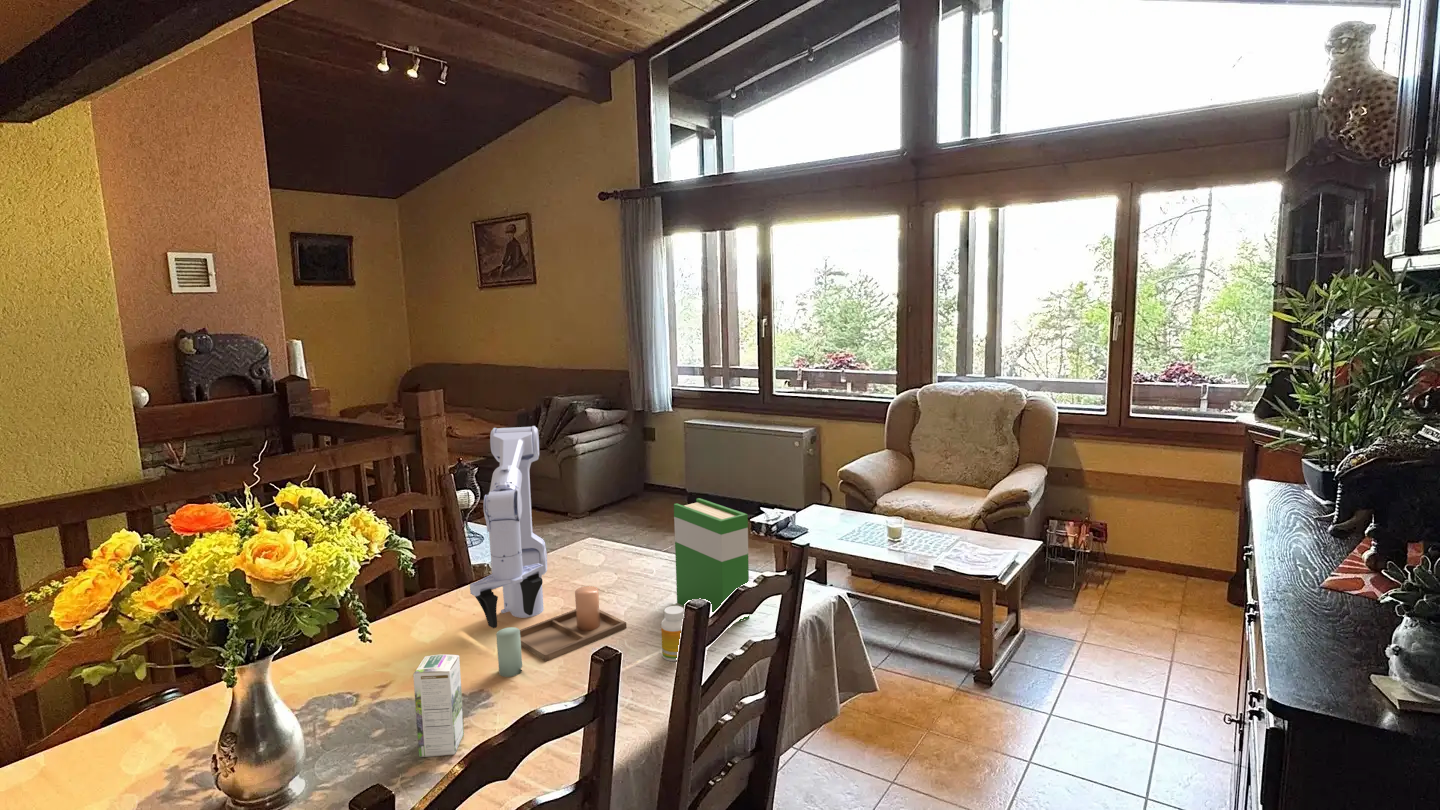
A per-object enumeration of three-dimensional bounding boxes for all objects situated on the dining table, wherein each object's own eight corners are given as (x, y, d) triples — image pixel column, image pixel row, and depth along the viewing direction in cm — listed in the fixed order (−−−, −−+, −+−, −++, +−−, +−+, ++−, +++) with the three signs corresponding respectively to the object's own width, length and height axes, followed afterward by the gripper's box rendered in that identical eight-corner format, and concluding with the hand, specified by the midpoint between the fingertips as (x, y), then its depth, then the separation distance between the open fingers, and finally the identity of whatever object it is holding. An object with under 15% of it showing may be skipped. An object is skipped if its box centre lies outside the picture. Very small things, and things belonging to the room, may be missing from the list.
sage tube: (494, 671, 144) (492, 632, 143) (515, 663, 147) (512, 625, 146) (506, 679, 141) (503, 639, 140) (526, 670, 144) (524, 632, 143)
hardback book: (677, 602, 174) (673, 504, 171) (702, 594, 179) (699, 498, 175) (723, 627, 160) (720, 521, 157) (749, 618, 165) (747, 514, 161)
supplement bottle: (685, 663, 146) (683, 616, 144) (659, 661, 147) (657, 614, 145) (691, 650, 151) (690, 604, 149) (666, 648, 152) (664, 603, 150)
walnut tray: (510, 642, 156) (509, 633, 156) (589, 612, 170) (588, 604, 170) (546, 664, 146) (545, 655, 146) (626, 631, 160) (626, 622, 160)
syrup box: (429, 737, 123) (422, 655, 121) (465, 734, 123) (459, 652, 121) (418, 758, 117) (410, 672, 115) (456, 755, 118) (449, 670, 116)
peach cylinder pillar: (572, 625, 161) (570, 591, 160) (591, 618, 165) (589, 584, 164) (585, 632, 158) (583, 597, 157) (604, 625, 161) (602, 590, 160)
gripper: (480, 567, 133) (486, 639, 135) (550, 547, 143) (554, 613, 145) (462, 558, 138) (468, 627, 140) (531, 539, 148) (535, 603, 150)
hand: (510, 619), depth 143 cm, fingers open, 7 cm apart
